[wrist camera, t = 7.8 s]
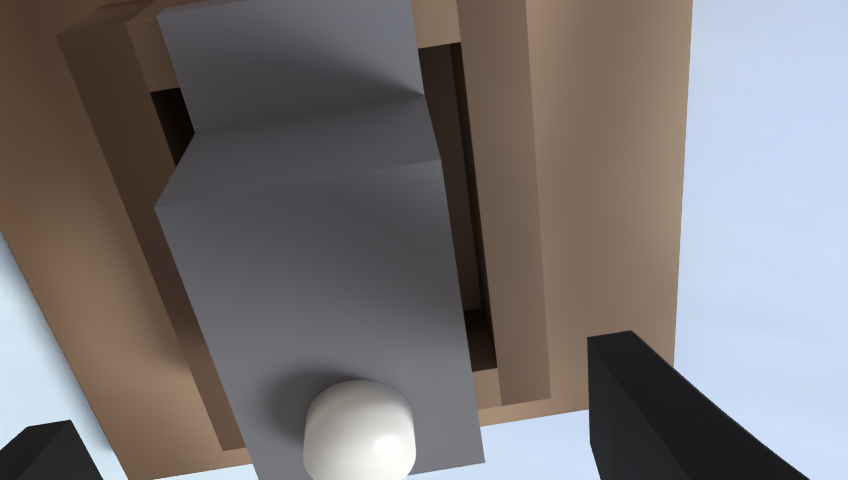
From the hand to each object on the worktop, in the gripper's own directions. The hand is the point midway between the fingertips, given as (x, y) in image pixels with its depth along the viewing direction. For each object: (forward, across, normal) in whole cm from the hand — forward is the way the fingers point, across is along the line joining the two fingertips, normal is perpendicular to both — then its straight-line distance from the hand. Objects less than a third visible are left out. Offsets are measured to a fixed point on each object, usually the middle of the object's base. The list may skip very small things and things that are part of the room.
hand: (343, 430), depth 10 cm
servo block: (+8, 0, 0) cm, 8 cm away
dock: (+8, 0, 0) cm, 9 cm away
